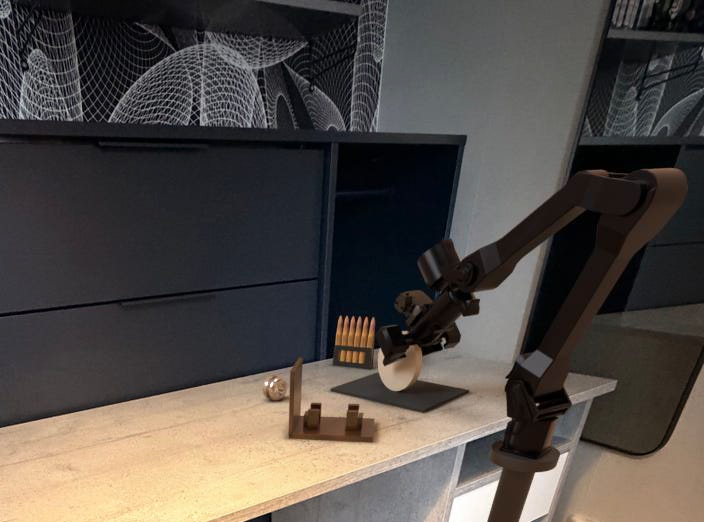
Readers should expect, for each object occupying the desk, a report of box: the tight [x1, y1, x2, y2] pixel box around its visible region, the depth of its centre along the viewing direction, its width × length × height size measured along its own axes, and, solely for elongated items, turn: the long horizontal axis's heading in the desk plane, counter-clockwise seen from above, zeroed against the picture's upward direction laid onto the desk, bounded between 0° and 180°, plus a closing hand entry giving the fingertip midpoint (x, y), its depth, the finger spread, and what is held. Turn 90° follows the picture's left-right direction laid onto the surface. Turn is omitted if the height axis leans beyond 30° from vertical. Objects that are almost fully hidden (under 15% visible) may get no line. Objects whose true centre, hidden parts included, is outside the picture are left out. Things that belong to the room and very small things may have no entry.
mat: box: [330, 371, 470, 414], centre depth 114 cm, size 24×18×1 cm
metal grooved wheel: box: [262, 374, 288, 402], centre depth 113 cm, size 5×3×5 cm, turn 129°
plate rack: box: [287, 357, 376, 443], centre depth 93 cm, size 15×10×12 cm, turn 75°
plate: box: [377, 330, 423, 391], centre depth 110 cm, size 12×2×12 cm, turn 26°
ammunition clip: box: [332, 315, 376, 370], centre depth 131 cm, size 11×2×12 cm, turn 54°
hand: (395, 362), depth 111 cm, fingers open, 6 cm apart
